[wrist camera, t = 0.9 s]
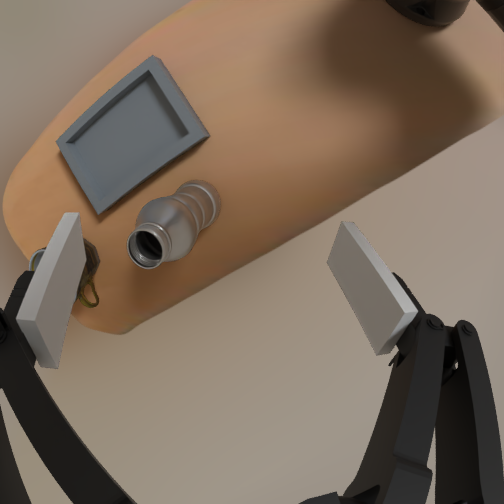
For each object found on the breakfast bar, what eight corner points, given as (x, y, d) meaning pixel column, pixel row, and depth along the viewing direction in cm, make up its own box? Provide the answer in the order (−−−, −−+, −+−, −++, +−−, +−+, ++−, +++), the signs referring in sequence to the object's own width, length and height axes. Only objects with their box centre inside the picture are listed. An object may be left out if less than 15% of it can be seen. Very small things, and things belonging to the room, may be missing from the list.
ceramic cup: (57, 260, 52) (24, 284, 42) (72, 217, 48) (35, 236, 39) (110, 301, 53) (82, 332, 44) (130, 260, 50) (100, 288, 40)
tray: (160, 59, 38) (152, 55, 35) (210, 135, 42) (205, 136, 39) (66, 140, 43) (55, 141, 41) (107, 209, 47) (98, 214, 44)
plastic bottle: (190, 229, 47) (133, 292, 28) (172, 186, 45) (101, 226, 26) (230, 214, 45) (193, 274, 27) (213, 170, 43) (160, 200, 25)
